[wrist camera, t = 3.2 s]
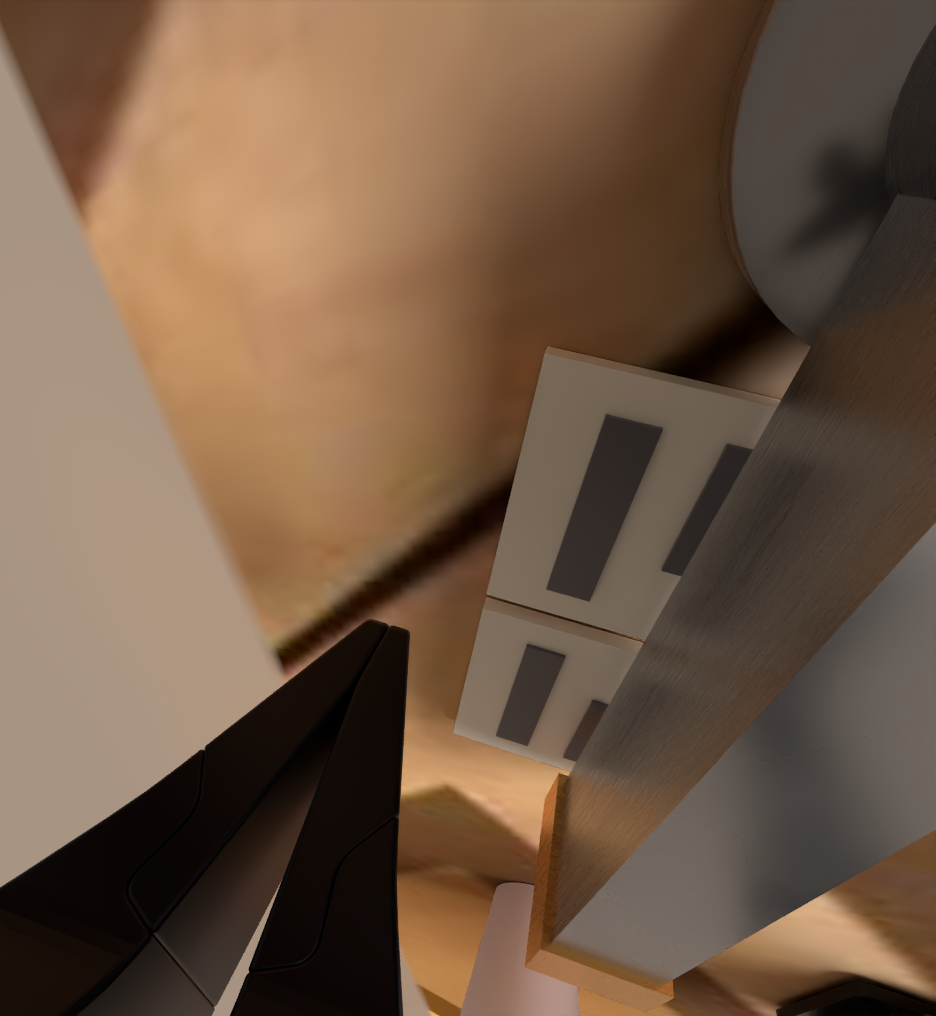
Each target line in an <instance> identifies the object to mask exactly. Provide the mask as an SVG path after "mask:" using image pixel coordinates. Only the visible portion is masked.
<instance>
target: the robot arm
mask: <svg viewBox="0 0 936 1016" xmlns="http://www.w3.org/2000/svg"><path fill="white" fill-rule="evenodd" d="M409 642H410V632H409V631H408V630H406V629H403V628H399V627H396V626H390V627H389V626H388V624H386V623H383V622H380V621H376V620H373V619H369V620H366V621H365V622H363V623H362V624H361V625H359V626H358V627H357V628H356V629H354V630H353V631H352V632H351V633H349V634H348V635H347V636H345V637H344V638H343V639H342V640H340V641H339V642H338V643H336V644H335V645H334V646H333V647H331V648H330V649H329V650H328V651H326V652H325V653H324V654H322V655H321V656H320V657H319V658H317V659H316V660H315V661H313V662H312V663H311V664H310V665H308V666H307V667H306V668H305V669H303V670H302V671H301V672H299V673H298V674H297V675H296V676H294V677H293V678H292V679H291V680H289V681H288V682H287V683H285V684H284V685H283V686H282V687H280V688H279V689H278V690H276V691H275V692H274V693H273V694H271V695H270V696H269V697H268V698H266V699H265V700H264V701H262V702H261V703H260V704H259V705H257V706H256V707H255V708H254V709H252V710H251V711H250V712H248V713H247V714H246V715H245V716H243V717H242V718H241V719H239V720H238V721H237V722H236V723H234V724H233V725H232V726H230V727H229V728H228V729H227V730H225V731H224V732H223V733H222V734H220V735H219V736H218V737H216V738H215V739H214V740H213V741H211V742H210V743H209V744H207V745H206V746H205V750H199V751H198V752H197V753H196V754H195V755H193V756H192V757H191V758H189V759H188V760H187V761H185V762H184V763H183V764H182V765H180V766H179V767H178V768H176V769H175V770H174V771H173V772H171V773H170V774H168V775H167V776H166V777H164V778H163V779H162V780H160V781H159V782H158V783H157V784H155V785H154V786H152V787H151V788H150V789H148V790H147V791H146V792H144V793H143V794H141V795H140V796H138V797H137V798H135V799H134V800H132V801H131V802H129V803H128V804H126V805H125V806H124V807H122V808H121V809H119V810H118V811H116V812H115V813H113V814H112V815H110V816H109V817H107V818H106V819H104V820H103V821H101V822H100V823H98V824H97V825H95V826H94V827H92V828H91V829H89V830H87V831H86V832H84V833H83V834H81V835H80V836H78V837H77V838H75V839H74V840H72V841H71V842H69V843H68V844H66V845H65V846H63V847H62V848H60V849H59V850H57V851H55V852H54V853H52V854H51V855H49V856H48V857H46V858H45V859H43V860H42V861H40V862H39V863H37V864H36V865H34V866H33V867H31V868H29V869H28V870H26V871H25V872H24V873H22V874H20V875H19V876H17V877H16V878H14V879H13V880H11V881H9V882H8V883H6V884H5V885H3V886H2V887H0V1016H212V1014H213V1012H214V1006H216V1005H217V1004H218V1002H219V1000H220V998H221V996H222V994H223V992H224V990H225V988H226V986H227V984H228V983H229V981H230V979H231V977H232V975H233V973H234V971H235V969H236V967H237V965H238V963H239V961H240V959H241V958H242V956H243V953H244V952H245V950H246V948H247V946H248V944H249V942H250V940H251V938H252V936H253V934H254V932H255V931H256V929H257V927H258V925H259V922H260V921H261V919H262V917H263V915H264V913H265V911H266V909H267V907H268V906H269V904H270V902H271V899H272V898H273V896H274V894H275V892H276V890H277V888H278V886H279V884H280V882H281V881H282V882H281V884H280V887H279V890H278V893H277V895H276V898H275V900H274V903H273V906H272V908H271V911H270V913H269V916H268V919H267V922H266V924H265V927H264V929H263V932H262V935H261V937H260V940H259V943H258V945H257V948H256V951H255V953H254V956H253V959H252V961H251V964H250V967H249V973H248V974H247V976H246V977H245V980H244V983H243V985H242V988H241V990H240V993H239V995H238V998H237V1000H236V1002H235V1005H234V1007H233V1010H232V1012H231V1014H230V1016H403V1004H402V987H401V968H400V951H399V934H398V907H397V858H398V834H399V813H400V796H401V779H402V762H403V745H404V728H405V711H406V693H407V676H408V659H409ZM776 1014H777V1016H936V1007H933V1006H931V1005H928V1004H925V1003H922V1002H919V1001H916V1000H913V999H911V998H908V997H905V996H902V995H899V994H896V993H893V992H891V991H888V990H885V989H882V988H879V987H876V986H873V985H870V984H867V983H861V982H852V983H848V984H845V985H842V986H840V987H837V988H834V989H831V990H829V991H826V992H823V993H820V994H818V995H815V996H812V997H809V998H807V999H804V1000H801V1001H798V1002H796V1003H793V1004H790V1005H787V1006H785V1007H782V1008H779V1009H777V1010H776Z"/></svg>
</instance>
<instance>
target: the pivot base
mask: <svg viewBox="0 0 936 1016" xmlns="http://www.w3.org/2000/svg"><path fill="white" fill-rule="evenodd" d="M935 25H936V0H767V1H766V3H765V5H764V7H763V9H762V11H761V13H760V15H759V17H758V19H757V22H756V24H755V26H754V29H753V31H752V34H751V36H750V39H749V41H748V44H747V46H746V48H745V51H744V53H743V56H742V58H741V61H740V64H739V68H738V71H737V74H736V78H735V81H734V84H733V88H732V91H731V94H730V97H729V101H728V106H727V112H726V117H725V122H724V127H723V132H722V137H721V150H720V163H719V189H720V206H721V211H722V217H723V222H724V228H725V233H726V236H727V239H728V242H729V245H730V247H731V250H732V253H733V256H734V259H735V261H736V263H737V264H738V266H739V268H740V270H741V272H742V274H743V276H744V278H745V280H746V281H747V283H748V284H749V285H750V286H751V288H752V289H753V290H754V292H755V293H756V294H757V296H758V297H759V298H760V299H761V301H762V302H763V303H764V304H765V305H766V306H767V307H768V308H769V309H770V310H771V311H772V313H773V314H774V315H775V316H776V317H777V318H778V319H779V320H780V321H781V322H782V323H783V324H784V325H785V326H786V327H787V328H788V329H789V330H791V331H792V332H793V333H794V334H795V335H796V336H797V337H798V338H799V339H800V340H802V341H803V342H805V343H806V344H808V345H809V346H811V347H812V345H813V343H814V341H815V340H816V338H817V336H818V334H819V332H820V331H821V329H822V327H823V325H824V324H825V322H826V320H827V318H828V317H829V315H830V313H831V311H832V310H833V308H834V306H835V304H836V302H837V301H838V299H839V297H840V295H841V294H842V292H843V290H844V288H845V287H846V285H847V283H848V281H849V279H850V278H851V276H852V274H853V272H854V271H855V269H856V267H857V265H858V264H859V262H860V260H861V258H862V257H863V255H864V253H865V251H866V249H867V248H868V246H869V244H870V242H871V241H872V239H873V237H874V235H875V234H876V232H877V230H878V228H879V226H880V225H881V223H882V221H883V219H884V218H885V216H886V214H887V212H888V211H889V209H890V207H891V204H890V200H889V196H888V191H887V186H886V174H885V156H886V146H887V138H888V133H889V129H890V124H891V120H892V115H893V112H894V109H895V106H896V103H897V100H898V97H899V94H900V91H901V89H902V86H903V84H904V82H905V80H906V77H907V75H908V73H909V71H910V69H911V67H912V64H913V62H914V60H915V58H916V57H917V55H918V53H919V51H920V50H921V48H922V46H923V44H924V43H925V41H926V39H927V37H928V35H929V34H930V32H931V30H932V29H933V28H934V26H935Z"/></svg>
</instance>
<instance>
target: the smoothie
mask: <svg viewBox="0 0 936 1016" xmlns="http://www.w3.org/2000/svg"><path fill="white" fill-rule="evenodd" d="M533 893H534V885H530V884H525V883H515V882H510V883H503V884H500V885H498V886H497V887H496V890H495V893H494V897H493V901H492V904H491V908H490V911H489V915H488V918H487V922H486V925H485V929H484V932H483V936H482V939H481V943H480V946H479V950H478V953H477V957H476V961H475V964H474V968H473V971H472V975H471V978H470V982H469V985H468V989H467V992H466V996H465V999H464V1003H463V1006H462V1010H461V1013H460V1016H579V1001H578V987H576V986H573V985H571V984H568V983H565V982H563V981H560V980H557V979H555V978H552V977H549V976H547V975H544V974H541V973H539V972H536V971H533V970H531V969H528V968H525V959H526V951H527V943H528V934H529V926H530V918H531V910H532V901H533Z"/></svg>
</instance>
